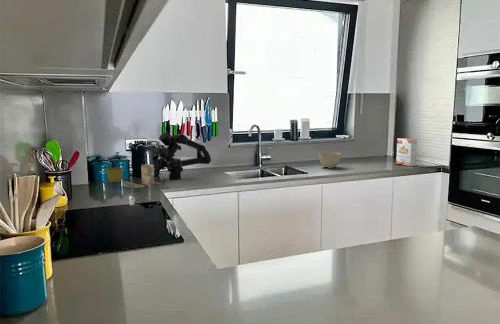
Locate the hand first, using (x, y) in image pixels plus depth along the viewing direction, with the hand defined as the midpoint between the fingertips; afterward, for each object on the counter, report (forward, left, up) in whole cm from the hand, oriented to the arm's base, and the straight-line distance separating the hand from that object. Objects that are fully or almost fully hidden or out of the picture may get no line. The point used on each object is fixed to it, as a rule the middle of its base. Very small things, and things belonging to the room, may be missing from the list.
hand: (155, 171), depth 227 cm
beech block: (+5, +3, -7) cm, 9 cm away
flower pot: (+23, -13, -8) cm, 28 cm away
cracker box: (-188, -12, -8) cm, 189 cm away
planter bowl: (-129, -24, -8) cm, 132 cm away
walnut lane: (+7, +4, -8) cm, 11 cm away
